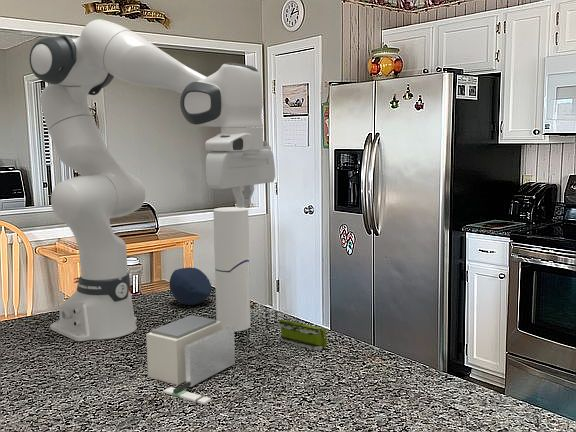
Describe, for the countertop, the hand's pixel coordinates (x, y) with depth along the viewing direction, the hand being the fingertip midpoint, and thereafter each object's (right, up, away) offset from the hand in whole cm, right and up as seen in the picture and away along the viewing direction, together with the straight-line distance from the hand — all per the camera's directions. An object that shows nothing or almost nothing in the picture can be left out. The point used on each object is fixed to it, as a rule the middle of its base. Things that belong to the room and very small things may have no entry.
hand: (243, 206), depth 131 cm
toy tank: (+11, -32, +14) cm, 36 cm away
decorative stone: (-19, -28, +46) cm, 56 cm away
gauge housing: (-9, -34, -7) cm, 36 cm away
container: (-4, -30, +25) cm, 40 cm away
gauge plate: (-11, -34, -6) cm, 36 cm away
